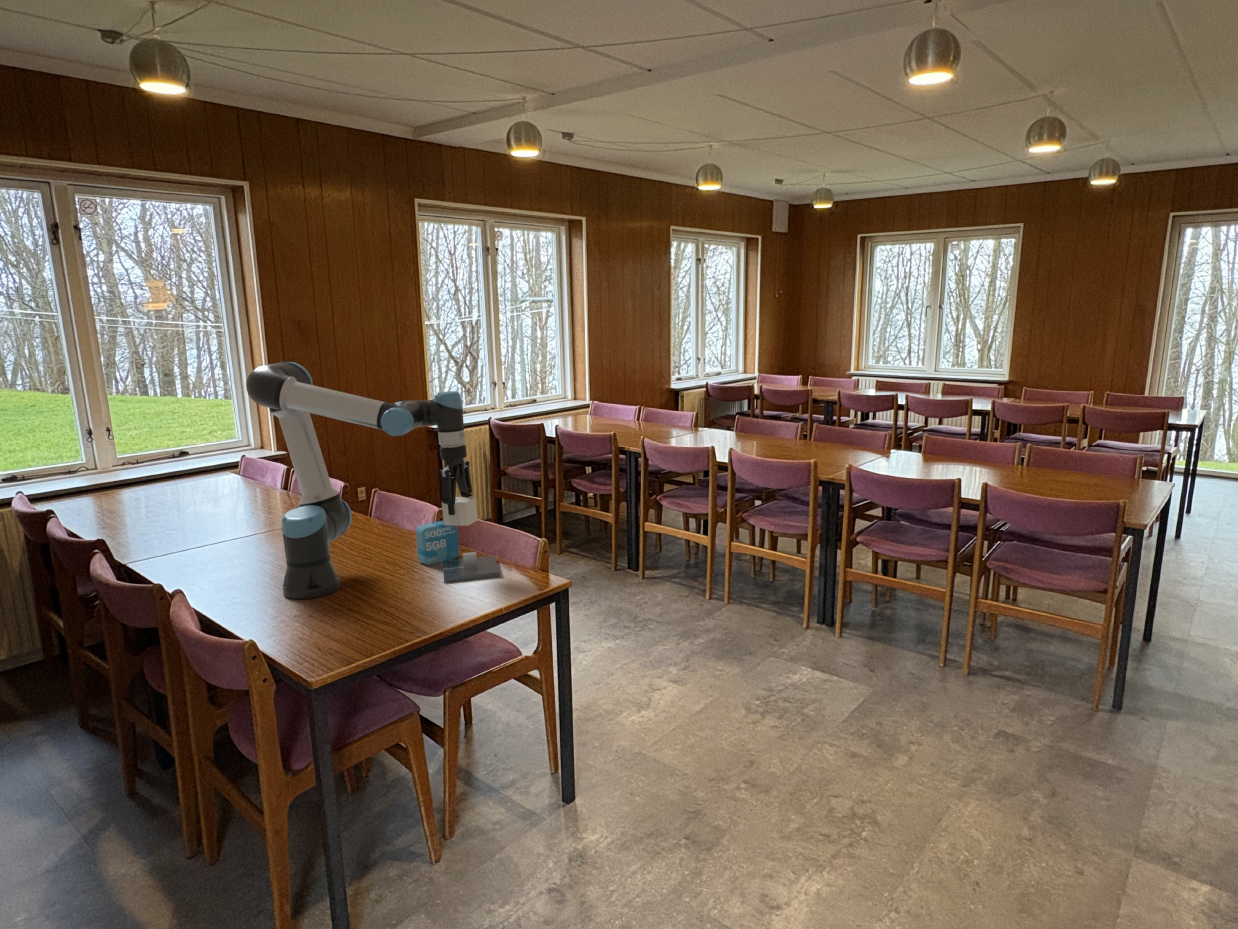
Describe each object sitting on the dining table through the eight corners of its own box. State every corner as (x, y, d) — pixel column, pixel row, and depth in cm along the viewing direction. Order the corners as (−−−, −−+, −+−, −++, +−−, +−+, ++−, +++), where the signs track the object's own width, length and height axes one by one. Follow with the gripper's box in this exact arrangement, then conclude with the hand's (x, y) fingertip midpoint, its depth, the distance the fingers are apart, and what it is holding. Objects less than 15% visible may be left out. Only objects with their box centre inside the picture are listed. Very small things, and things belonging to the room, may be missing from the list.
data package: (424, 566, 239) (421, 529, 237) (418, 563, 243) (415, 526, 240) (459, 557, 247) (456, 521, 244) (452, 554, 250) (450, 518, 248)
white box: (467, 525, 225) (465, 502, 224) (444, 525, 227) (441, 501, 226) (477, 519, 231) (475, 496, 229) (454, 519, 233) (452, 496, 232)
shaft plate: (499, 576, 228) (498, 559, 227) (443, 583, 224) (442, 564, 223) (495, 560, 243) (493, 543, 242) (442, 565, 239) (440, 548, 238)
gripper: (447, 451, 214) (455, 531, 219) (479, 439, 232) (486, 513, 237) (423, 451, 217) (432, 530, 221) (457, 439, 234) (464, 512, 239)
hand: (460, 521), depth 229 cm, fingers closed on white box, 6 cm apart
